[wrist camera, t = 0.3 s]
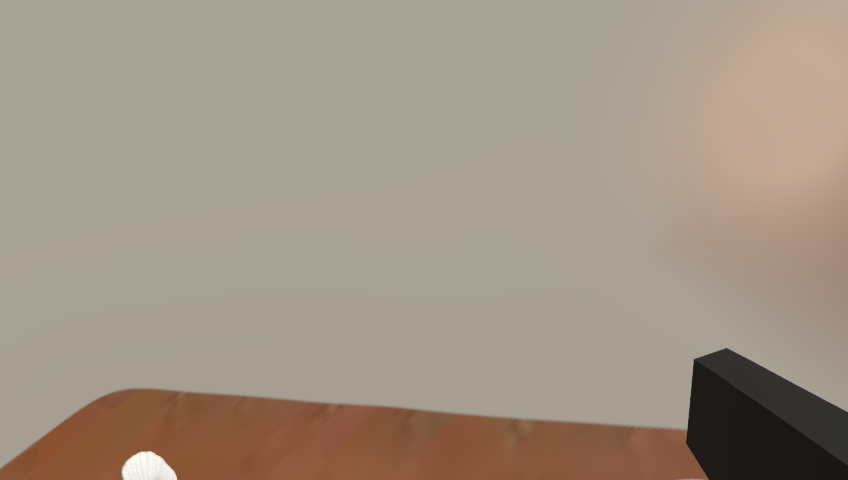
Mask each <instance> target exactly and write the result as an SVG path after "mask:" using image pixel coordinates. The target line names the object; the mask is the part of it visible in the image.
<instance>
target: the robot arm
mask: <svg viewBox="0 0 848 480" xmlns="http://www.w3.org/2000/svg"><path fill="white" fill-rule="evenodd" d="M686 444H687V445H688V447H689V448H690V450H691V452H692V453H693V455H694V456H695V458H696V460H697V461H698V463H699V464H700V466H701V468H702V469H703V471H704V472H705V474H706V475H707V477H708V478H709V480H848V412H846V411H844V410H842V409H841V408H838V407H837V406H835V405H833V404H831V403H829V402H827V401H825V400H823V399H822V398H820V397H818V396H816V395H814V394H812V393H810V392H808V391H807V390H805V389H803V388H801V387H799V386H797V385H795V384H793V383H792V382H790V381H788V380H786V379H784V378H782V377H780V376H778V375H777V374H775V373H773V372H771V371H769V370H767V369H766V368H764V367H762V366H760V365H758V364H756V363H754V362H752V361H751V360H749V359H747V358H745V357H743V356H741V355H739V354H737V353H735V352H733V351H731V350H729V349H727V348H725V349H723V350H720V351H717V352H714V353H711V354H708V355H705V356H703V357H699V358H696V359H694V365H693V376H692V387H691V398H690V409H689V419H688V430H687V441H686Z"/></svg>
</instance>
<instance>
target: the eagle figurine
mask: <svg viewBox="0 0 848 480" xmlns="http://www.w3.org/2000/svg"><path fill="white" fill-rule="evenodd" d="M121 475H122V479H123V480H177V477H176V475H175V472H174V471H173V470H172V469H171V468H170V467H169V465H167V464H166V463H165V461H164V459H163V458H162V457H160V456H157V455H156V454H155V453H153V452H151V451H148V452H139V453H137V454H136V455H134V456H132V457H131V458H129V459H128V460H127V461H126V462H125V463H124V466H123V467H122V469H121Z"/></svg>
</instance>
